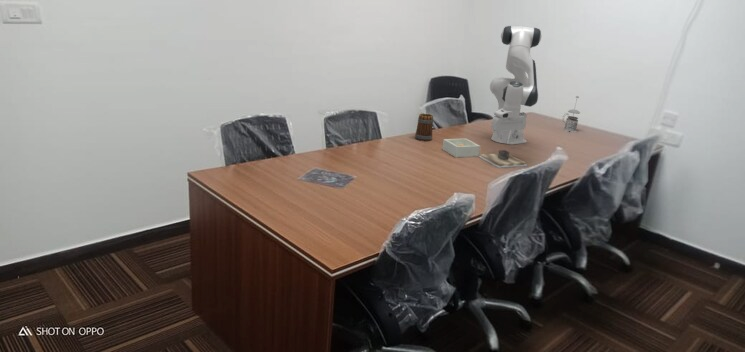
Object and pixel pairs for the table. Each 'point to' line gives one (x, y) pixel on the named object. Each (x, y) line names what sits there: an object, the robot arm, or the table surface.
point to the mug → (424, 127)
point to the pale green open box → (461, 147)
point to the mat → (501, 166)
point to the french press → (571, 120)
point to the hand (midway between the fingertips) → (506, 137)
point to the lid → (503, 159)
